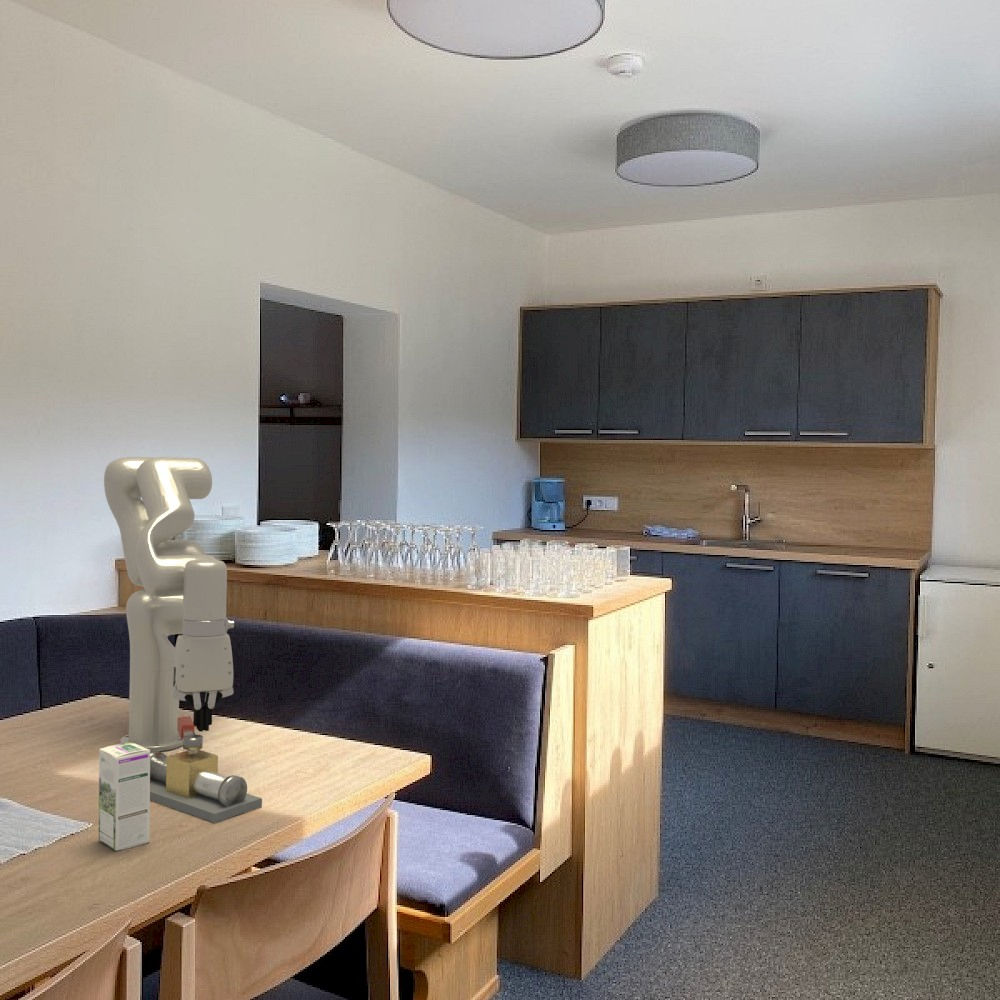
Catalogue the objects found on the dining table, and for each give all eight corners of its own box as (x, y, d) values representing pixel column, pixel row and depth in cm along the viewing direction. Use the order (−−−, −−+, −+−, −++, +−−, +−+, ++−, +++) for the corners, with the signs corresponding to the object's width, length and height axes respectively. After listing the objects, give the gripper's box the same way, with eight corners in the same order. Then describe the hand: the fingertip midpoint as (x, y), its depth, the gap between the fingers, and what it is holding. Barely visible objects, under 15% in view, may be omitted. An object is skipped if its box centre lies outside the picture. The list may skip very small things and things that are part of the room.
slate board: (171, 777, 188) (171, 769, 188) (261, 806, 175) (261, 798, 174) (123, 790, 180) (123, 782, 180) (214, 823, 166) (214, 813, 166)
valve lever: (174, 735, 188) (174, 717, 188) (192, 733, 189) (192, 716, 189) (183, 758, 175) (184, 738, 175) (203, 756, 176) (203, 737, 176)
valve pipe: (165, 776, 186) (166, 740, 186) (248, 803, 173) (249, 764, 173) (136, 784, 181) (137, 747, 181) (220, 812, 168) (221, 772, 168)
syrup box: (151, 842, 157) (153, 748, 157) (114, 852, 153) (115, 755, 152) (132, 832, 161) (134, 740, 161) (96, 841, 157) (97, 747, 156)
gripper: (240, 623, 193) (238, 721, 193) (157, 627, 185) (155, 728, 186) (251, 629, 186) (249, 730, 186) (165, 633, 179) (163, 738, 179)
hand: (202, 729), depth 186 cm, fingers closed
